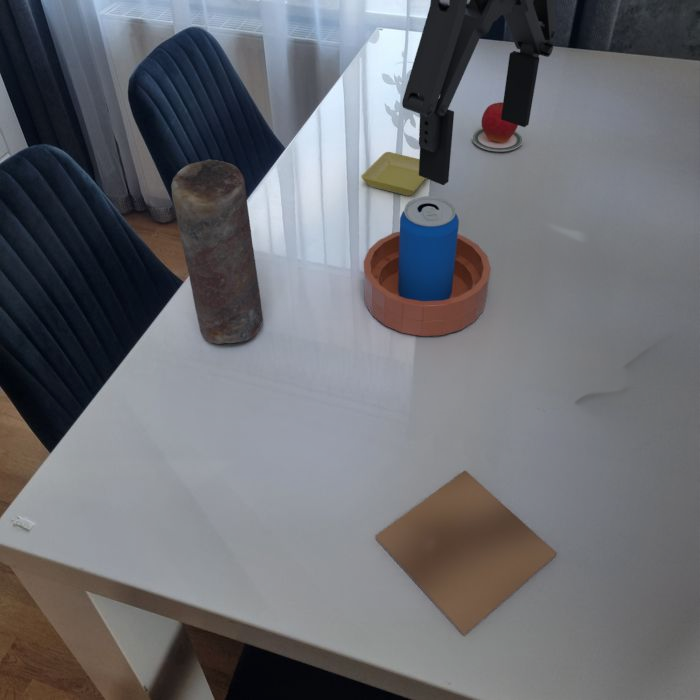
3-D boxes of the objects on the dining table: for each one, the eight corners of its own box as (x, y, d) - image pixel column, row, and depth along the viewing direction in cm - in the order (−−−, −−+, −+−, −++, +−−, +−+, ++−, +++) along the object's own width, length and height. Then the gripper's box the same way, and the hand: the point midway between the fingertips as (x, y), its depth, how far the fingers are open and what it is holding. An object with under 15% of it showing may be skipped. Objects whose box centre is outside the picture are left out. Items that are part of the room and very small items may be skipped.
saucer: (385, 162, 106) (386, 150, 105) (437, 175, 103) (438, 162, 102) (360, 189, 101) (359, 176, 99) (413, 203, 98) (414, 190, 96)
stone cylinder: (269, 308, 82) (247, 158, 68) (262, 351, 77) (236, 198, 63) (207, 308, 83) (172, 158, 69) (195, 351, 77) (155, 198, 63)
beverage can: (443, 274, 85) (450, 191, 77) (457, 308, 81) (467, 223, 72) (392, 281, 85) (394, 197, 76) (404, 315, 80) (407, 230, 72)
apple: (464, 147, 109) (468, 108, 104) (481, 126, 114) (486, 87, 109) (513, 158, 106) (519, 118, 101) (528, 135, 111) (535, 96, 106)
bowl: (510, 302, 82) (516, 269, 78) (420, 357, 76) (422, 323, 72) (427, 246, 90) (429, 214, 87) (340, 292, 84) (338, 259, 81)
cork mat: (556, 556, 58) (557, 553, 58) (464, 637, 54) (464, 633, 53) (464, 473, 65) (465, 469, 64) (375, 539, 60) (375, 535, 60)
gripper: (547, -154, 57) (512, 92, 72) (354, -93, 44) (359, 191, 59) (632, -145, 54) (576, 111, 69) (448, -76, 41) (429, 222, 56)
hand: (476, 149), depth 64 cm, fingers open, 13 cm apart
